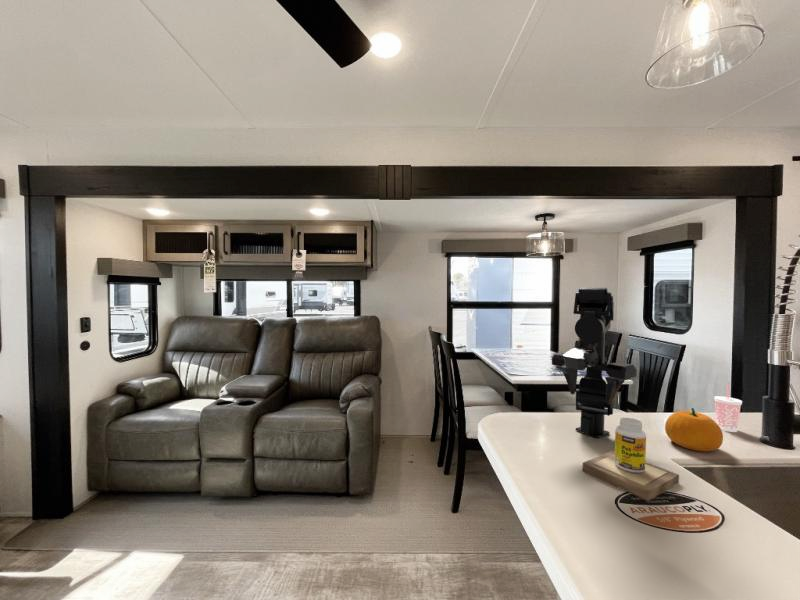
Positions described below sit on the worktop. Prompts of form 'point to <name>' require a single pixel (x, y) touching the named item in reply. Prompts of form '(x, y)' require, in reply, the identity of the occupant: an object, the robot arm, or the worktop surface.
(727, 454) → the worktop surface
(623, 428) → the supplement bottle
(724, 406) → the beverage cup
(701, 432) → the fruit
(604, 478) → the brown picture frame
